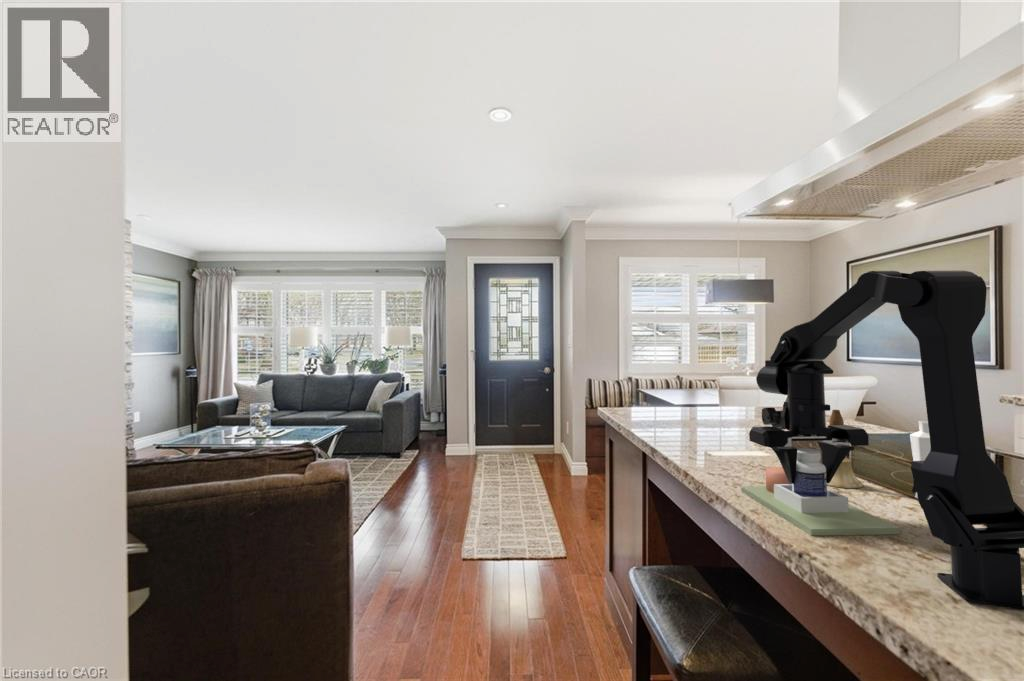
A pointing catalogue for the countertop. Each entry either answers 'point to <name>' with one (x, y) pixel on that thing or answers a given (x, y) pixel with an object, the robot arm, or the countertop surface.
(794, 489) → the pill bottle
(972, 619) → the countertop surface
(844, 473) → the hand bell
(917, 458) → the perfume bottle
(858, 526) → the green board with tray
